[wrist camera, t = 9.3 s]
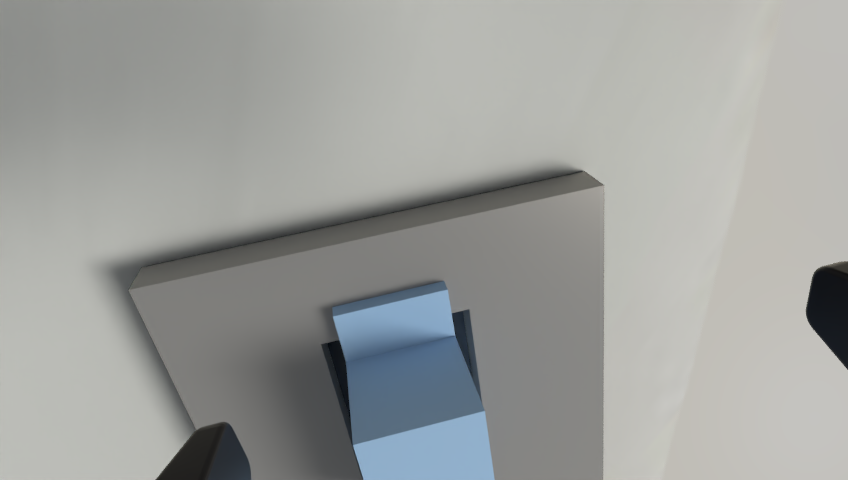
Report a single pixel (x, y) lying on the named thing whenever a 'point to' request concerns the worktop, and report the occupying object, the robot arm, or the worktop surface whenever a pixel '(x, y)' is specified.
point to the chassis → (383, 274)
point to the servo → (411, 389)
